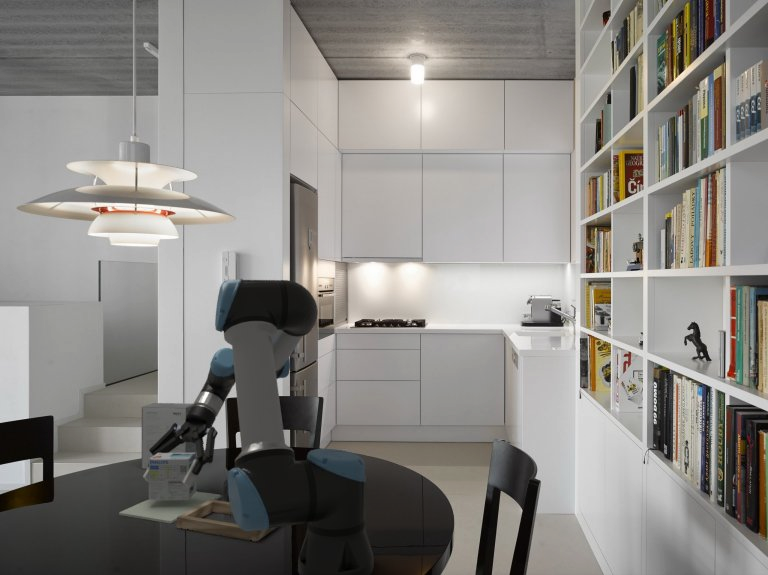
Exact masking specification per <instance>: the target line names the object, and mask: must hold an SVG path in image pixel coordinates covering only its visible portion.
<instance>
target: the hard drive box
mask: <svg viewBox="0 0 768 575" xmlns="http://www.w3.org/2000/svg"><path fill="white" fill-rule="evenodd" d="M191 407H193V403H188V402H187V403H183V402H182V403H179V402H173V403H171V402H154V403H149V404H145V405H143V406H141V469H142V470H143V469H144V470H147V469H148V464H149V459H150V458H151V457H153V455H152V454H151V452H150V451H149V450H150V448H151V447H153V446H154V445H155V444H156V443H157V442H158V441H159V440H160V439H161V438H162V437H163V436H164V435H165V434H166V433H167V432H168V431H169V430H170V428H171V427H172V425H173V424H174V423H176V424H177V425H180V426H182V425H183V424H184V423H185V421H186V416H187V414H188V412H189V411H190V409H191ZM180 438H181V439H182V437H181V436H180ZM194 452H196V445H195V443H192V442H184V443H183V444H180V445H178V446H177V447H176V448H174V449H173V450H172V451H170V452H169V453H194ZM160 453H161V452H160ZM196 453H197V452H196Z"/></svg>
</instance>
